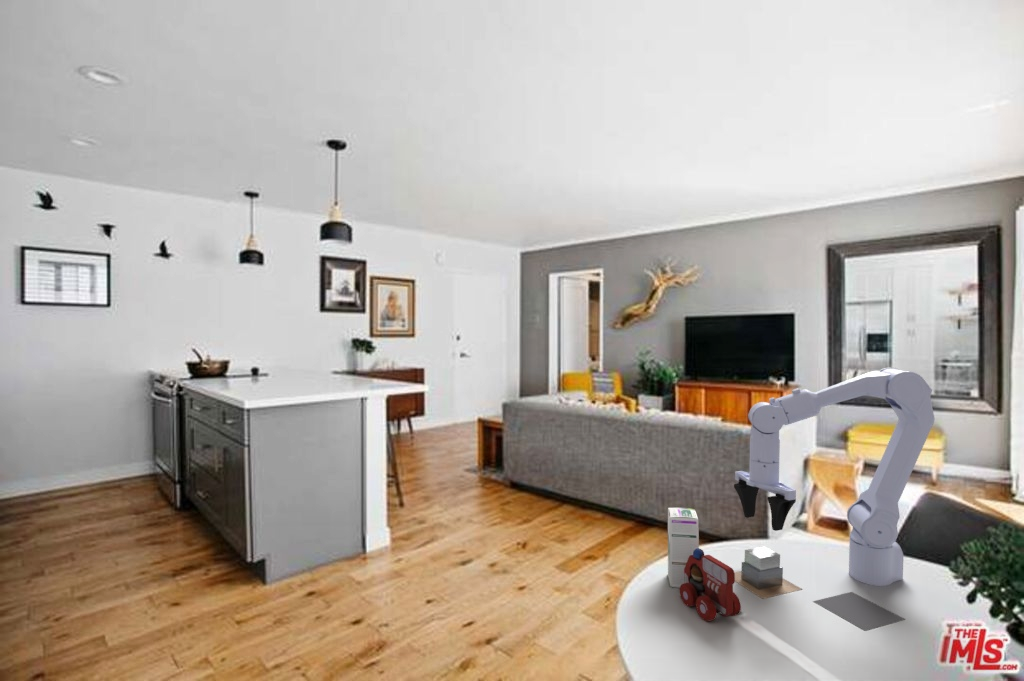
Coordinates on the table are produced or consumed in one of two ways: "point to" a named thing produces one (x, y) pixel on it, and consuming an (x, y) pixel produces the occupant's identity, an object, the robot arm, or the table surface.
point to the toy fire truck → (709, 586)
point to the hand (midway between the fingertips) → (763, 522)
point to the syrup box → (681, 542)
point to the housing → (762, 568)
